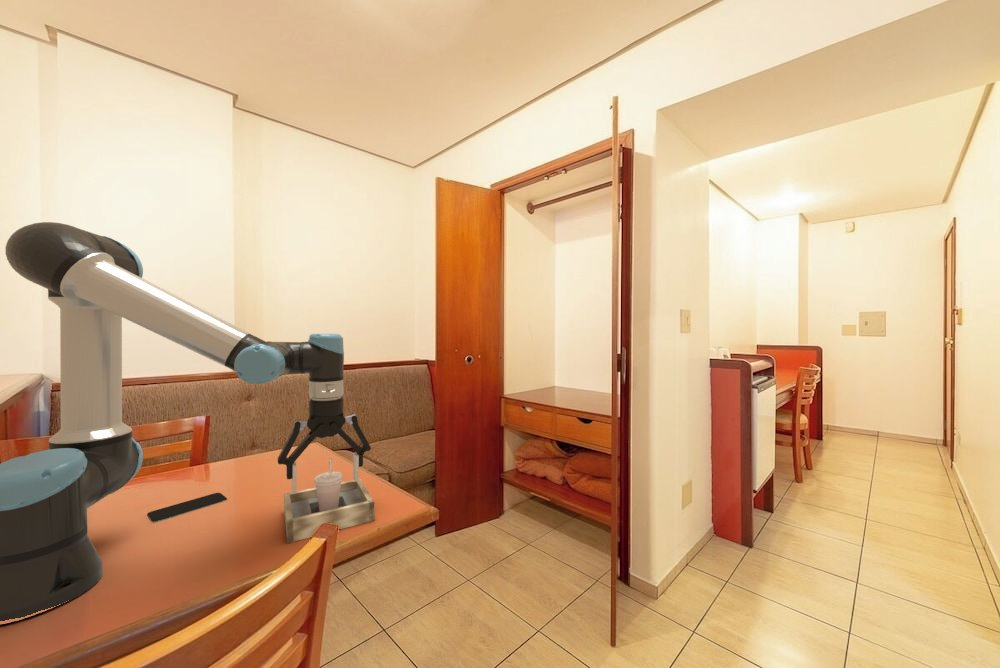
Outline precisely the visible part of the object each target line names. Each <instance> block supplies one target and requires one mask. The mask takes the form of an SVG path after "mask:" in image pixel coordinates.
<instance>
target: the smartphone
mask: <svg viewBox="0 0 1000 668" xmlns="http://www.w3.org/2000/svg"><path fill="white" fill-rule="evenodd" d="M226 501H228V498H227V496H225V495H224V494H223V493H221V492H213V493H211V494H206V495H204V496H200V497H197V498H194V499H190V500H187V501H183V502H179V503H176V504H172V505H169V506H165V507H162V508H159V509H155V510H152V511H149V512H147V513H146V516H147V517H148V519H149V520H150V522H151V523H154V524H155V523H159V522H162V521H163V522H164V521H166V520H169V519H172V518H175V517H178V516H182V515H185V514H188V513H191V512H194V511H197V510H201V509H204V508H209V507H210V506H213V505H217V504H221V503H223V502H226Z"/></svg>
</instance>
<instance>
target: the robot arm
mask: <svg viewBox="0 0 1000 668" xmlns="http://www.w3.org/2000/svg"><path fill="white" fill-rule="evenodd" d="M5 257H6V261H8V263H9V265H10V267H11V268H12V269H13V270H14V271H15V272H16V273H17V274H18V275H20V276H21V277H22V278H24V279H26V280H27V281H29V282H31V283H33V284H36V285H38V286H40V287H42V288H45V289H47V296H48V297H47V299H48V300H49V301H51V302H52V303H53V304H55V305H56V306H57V307H58V308H59V309H60V310H59V313H60V314H59V315H60V317H59V318H60V321H59V322H60V325H59V326H60V328H59V330H60V331H59V332H60V333H59V334H60V335H59V336H60V339H59V341H60V343H59V344H60V348H59V350H60V355H59V356H60V362H59V363H60V429H59V430H58V431H57V432H56V433H55V434H53V436H51V437H49V439H48V449H45V450H40V451H36V452H31V453H29V454H27V455H22V456H21V455H20V456H17V457H14V458H11V459H8V460H6V461H3V462H1V463H0V621H5V620H9V619H15V618H21V617H25V616H27V615H31V614H33V613H36V612H38V611H41V610H45V609H48V608H51V607H54V606H57V605H59V604H62V603H64V602H66V601H68V600H70V601H72V600H74V599H76V598H78V597H79V596H81V595H82V594H84V593H85V592H87V591H89V590H90V589H91V588H93V587H94V586H95V585H96V584H97V583H98V582H99V581H100V579H101V578H102V576H103V574H104V573H103V571H104V570H103V561H102V558H101V556H100V555H99V553H98V551H97V549H96V547H95V546H94V543H93V542H92V540H91V539H90V537H89V534H88V533H89V531H88V508H91V507H92V506H93V505H95V504H96V503H98V502H99V501H101V500H103V499H104V498H106V497H108V496H109V495H111V494H114V493H115V492H118V491H119V490H120V489H122V488H123V487H124V486H126V485H127V484H128V483H129V482H130V481H131V480H132V479H133V478H134V477H135V476H136V475H137V474H138V473H139V471H140V469H141V468H142V465H143V461H144V452H143V448H142V445H140V443H139V442H137V441H136V440H135V439H134V437H133V429H132V427H131V426H130V425H128V424H126V423H124V422H123V342H122V341H123V326H122V325H123V322H122V321H123V319H126V320H127V321H128V322H131V323H134V324H136V325H137V326H140V327H141V328H145V329H146V330H148V331H151V332H152V333H154V334H157V335H158V336H161V337H163V338H166V339H167V340H170V341H172V342H174V343H175V344H177V345H180V346H181V347H184V348H186V349H188V350H190V351H193V352H194V353H197V354H199V355H201V356H203V357H205V358H207V359H209V360H211V361H213V362H216V363H218V364H220V365H222V366H224V367H225V368H228V369H230V370H231V371H234V372H235V374H236V375H237V376H238V378H239V379H240V380H242V381H243V382H244V383H246V384H251V385H263V384H268V383H271V382H274V381H275V380H277V379H278V378H280V377H281V376H284V375H297V374H301V375H305V374H308V378H309V379H308V380H309V381H308V397H309V401H308V419H307V420H299V419H295V420H294V422H293V428H292V431H291V433H290V434H289V437H287V440H286V442H285V443H284V445H283V448H282V449H281V451H280V453H279V455H278V457H277V465H285V467H286V478H287V480H291V492H292V493H293V494H296V491H297V466H298V465H297V459H299V457H300V456H301V455H302V454H303V452H305V450H306V449H307V448H308V446H309V445H311V443H312V442H313V441H315V439H316V438H319V439H324V438H329V437H330V438H331V437H335V436H337V434H338V436H339V437H340V438H341V439H343V440H344V441H345V442H346V443H347V444H348V445H349V446H350V447H351V448H352V449H353V450H354V451H355V452H353V455H352V456H353V463H352V464H353V469H352V470H353V472H352V475H353V477H352V478H353V479H352V480H355V482H359V479H360V478H359V474H360V473H359V472H360V468H361V467H363V465H364V454H365V453H366V452H369V451H371V450H372V448H371V447H372V446H371V445H370V443H369V442H368V440H367V438H366V436H365V434H364V432H363V431H362V428H361V427H360V426H359V422H358V416H357V415H356V414H355V413H351V414H350V415H348V416H347V415H346V416H345V415H344V398H343V397H342V396H344V368H345V367H344V366H345V365H344V363H345V352H344V351H345V349H344V338H343V336H342V335H341V334H339V333H311V334H309V336H308V341H299V342H298V341H268V340H267V341H265V340H264V339H261V338H260V337H257V335H256V336H255V335H253V334H251V333H250V332H248V331H245V330H244V329H242V328H239V327H238V326H236V325H234V324H232V323H231V322H229V321H226V320H225V319H222V318H221V317H219V316H216V315H214V314H212V313H210V312H209V311H207V310H205V309H203V308H201V307H199V306H197V305H195V304H193V303H191V302H190V301H187V300H186V299H183V298H182V297H179V295H175V294H174V293H172V292H170V291H168V290H166V289H164V288H161V286H158V285H157V284H154V283H152V282H150V281H149V280H146V279H144V278H143V276H144V275H143V274H144V268H143V267H144V266H143V265H142V262H141V260H140V258H139V256H138V255H137V254H136V252H134V251H133V249H131V248H129V247H128V246H126V245H125V244H123V243H121V242H120V241H118V240H116V239H113V238H111V237H108V236H106V235H100V234H97V233H94V232H90V231H88V230H84V229H81V228H78V227H76V226H72V225H70V224H66V223H62V222H52V221H42V222H35V223H30V224H27V225H25V226H23V227H20V228H19V229H17V230H15V232H13V233H12V234H11V235H9V238H8V240H7V242H6V244H5ZM122 318H123V319H122ZM346 422H347V423H348V424H349V425H351V426H352V428H353V430H354V431H355V434H356V435H357V437H358V439H359V440H360V442H361V443H360V444H361V445H362V446H360V445H359V444H358V443H357V442H356V441H355V440H353V438H351V436H350V435H349V434H347V432H346V431H344V429H343V428H342V427H343V426H344V425H345V424H346ZM305 427H307V428H308V429H309V432H308V433H307V434H306V435H305V437H304V438H303V439H302V441H300V443H299V444H298V445H297V446H296V448H294V450H293V451H292V452H291V450H292V448H293V446H294V444H295V442H296V440H297V439H298V436H299V434H300V432H301V431H304V428H305ZM290 452H291V454H290V455H289V453H290ZM77 596H78V597H77ZM73 598H74V599H73ZM71 599H72V600H71ZM68 602H69V601H68ZM64 604H65V603H64ZM62 605H63V604H62Z"/></svg>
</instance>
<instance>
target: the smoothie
mask: <svg viewBox="0 0 1000 668" xmlns="http://www.w3.org/2000/svg"><path fill="white" fill-rule="evenodd" d="M328 464H329V470H328V471H325V472H322V473H320V474H317V475H316V476H315V477H314V478H313V484H314V485H315V488H316V491H317V498H318V505H319V512H323V511H327V510H331V509H335V508H339V507H338V504H339V495H340V487H341V482H343V479H344V478H343V473H342V472H341V471H333V459H332V458H329V459H328Z"/></svg>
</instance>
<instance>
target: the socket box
mask: <svg viewBox="0 0 1000 668" xmlns="http://www.w3.org/2000/svg"><path fill="white" fill-rule="evenodd" d="M283 504H284V505H283V507H284V508H283V509H284V510H283V511H284V512H283V513H284V522H285V535H286V544H291V543H294V542H297V541H298V542H299V541H302V540H306V539H310V538H313V537H312V535H313V534H314V532H315V531H316V530H317V528H318V527H319V526H320V525H321V524H323V523H332V524H337V525H339V528H340V530H343V529H347V528H351V527H355V526H359V525H362V524H363V525H364V524H366V523H370V522H373V521H375V501H374V499H373V497H372V496H371V494H370V492H369V491H368V489H367V487H366V486H365V484H364V483H363V481H362V479H361V478H359V482H355V480H354V479H350V480H346V481H341V487H340V495H339V504H338V508H335V509H331V510H327V511H323V512H319V505H318V498H317V491H316V487H312V488H307V489H302V490H296V494H293V493H292V491H291V492H287V493H284V494H283Z"/></svg>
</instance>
